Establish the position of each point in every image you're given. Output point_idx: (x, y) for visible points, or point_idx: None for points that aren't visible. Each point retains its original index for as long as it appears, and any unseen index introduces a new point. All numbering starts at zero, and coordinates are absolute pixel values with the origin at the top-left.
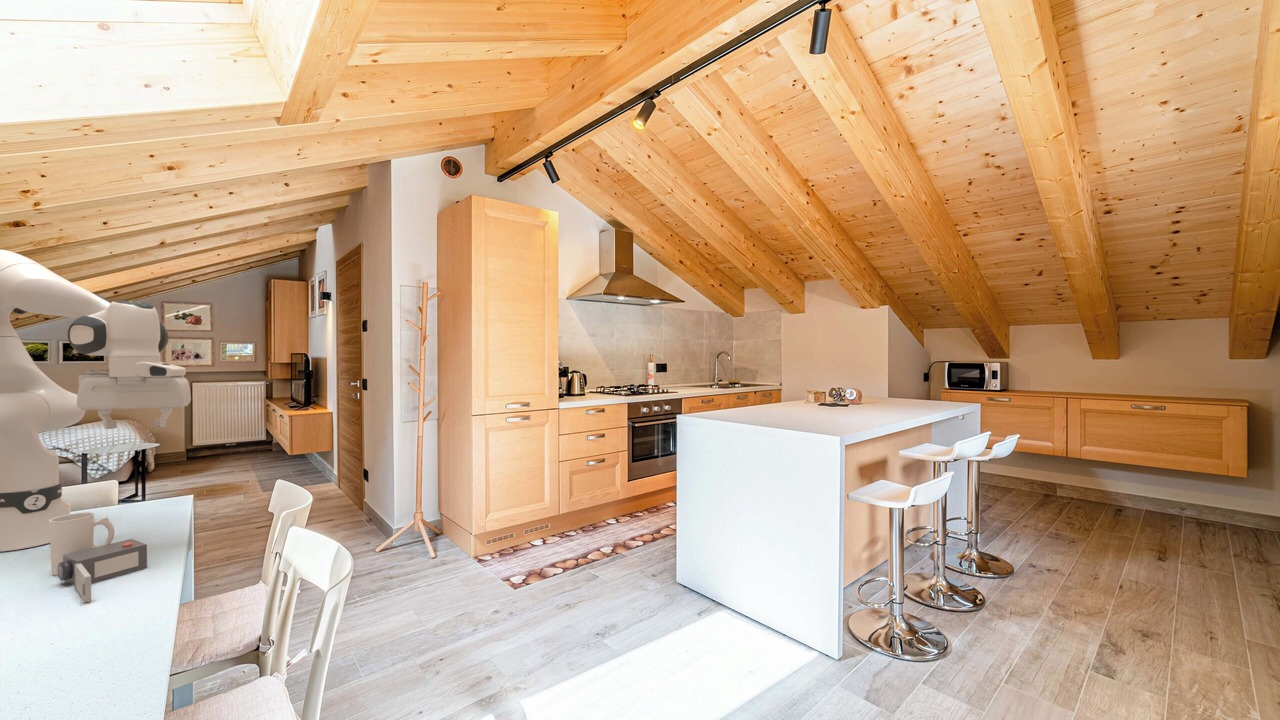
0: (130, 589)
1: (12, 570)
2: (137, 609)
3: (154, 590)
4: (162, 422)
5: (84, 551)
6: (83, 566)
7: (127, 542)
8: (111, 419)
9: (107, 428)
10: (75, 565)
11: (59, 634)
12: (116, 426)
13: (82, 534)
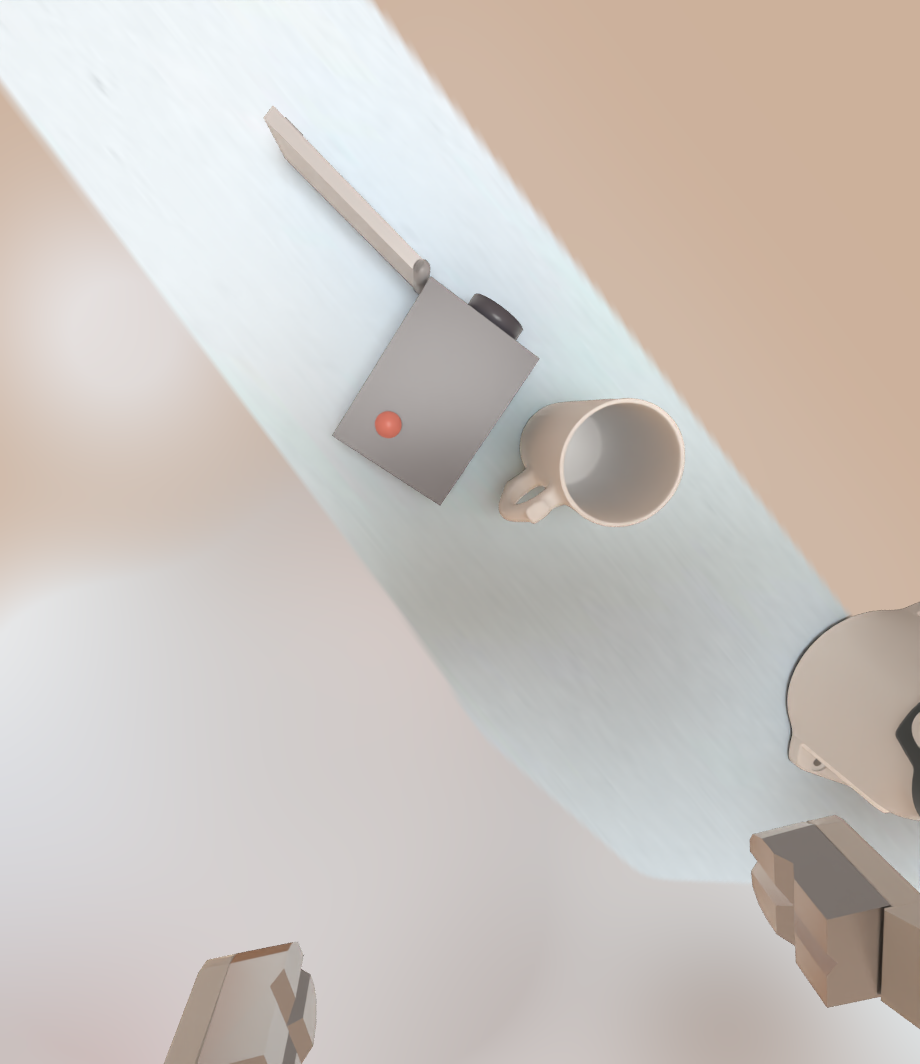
0: (249, 251)
1: (728, 466)
2: (83, 68)
3: (161, 228)
4: (182, 1025)
5: (494, 385)
6: (378, 233)
7: (395, 435)
8: (906, 1008)
9: (807, 824)
10: (422, 259)
11: None
12: (764, 906)
13: (548, 435)
